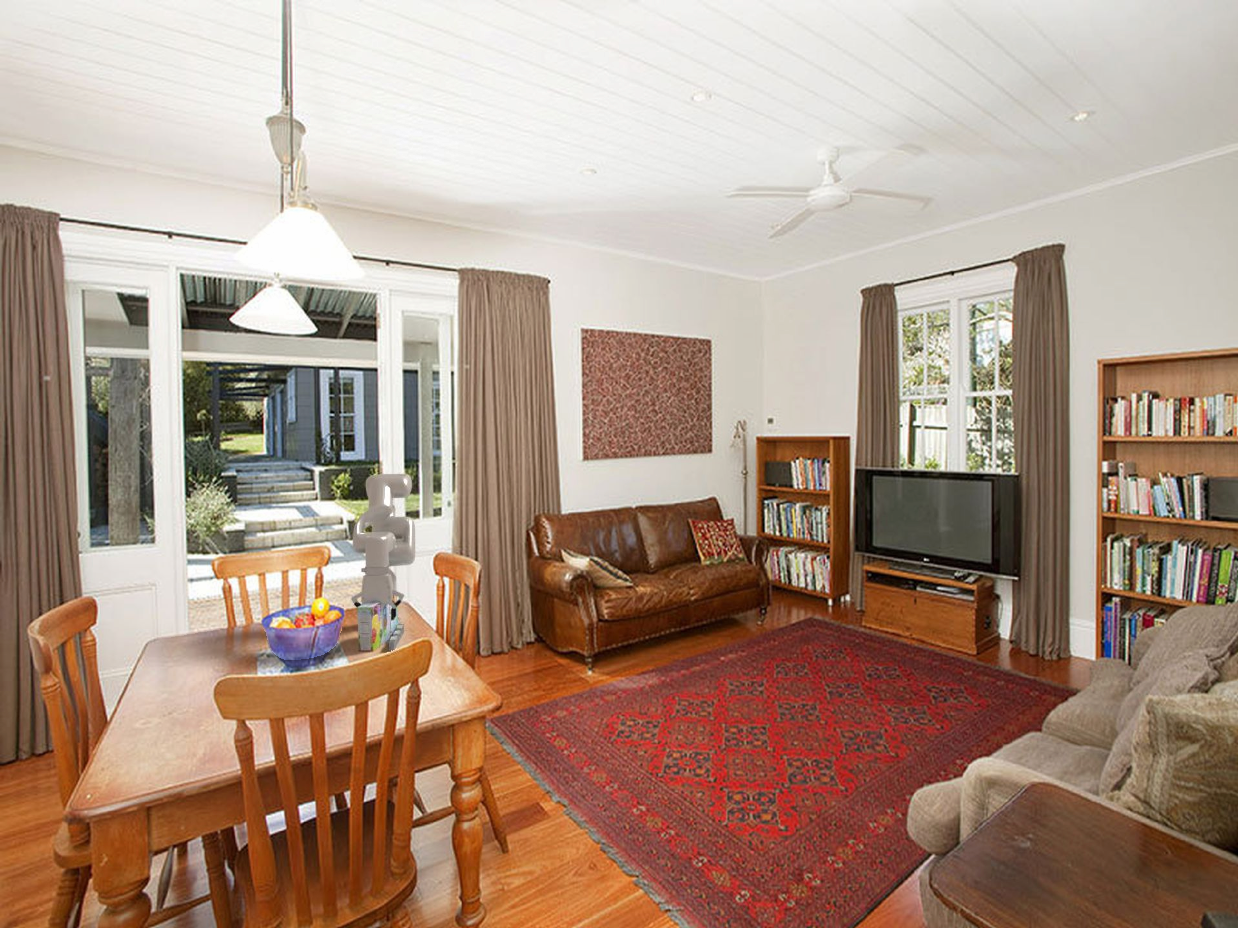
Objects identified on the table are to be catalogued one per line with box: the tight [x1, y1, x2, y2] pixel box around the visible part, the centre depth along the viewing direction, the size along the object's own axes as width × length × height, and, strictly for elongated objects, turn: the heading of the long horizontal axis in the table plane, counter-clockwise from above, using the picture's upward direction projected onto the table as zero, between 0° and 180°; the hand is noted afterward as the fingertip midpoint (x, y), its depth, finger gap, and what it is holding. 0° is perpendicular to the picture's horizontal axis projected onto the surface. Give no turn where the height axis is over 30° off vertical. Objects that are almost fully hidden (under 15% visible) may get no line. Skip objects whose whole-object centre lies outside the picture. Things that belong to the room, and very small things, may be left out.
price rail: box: [388, 623, 405, 652], centre depth 221 cm, size 22×2×3 cm, turn 10°
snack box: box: [356, 595, 399, 652], centre depth 220 cm, size 21×6×15 cm, turn 177°
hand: (378, 619), depth 220 cm, fingers open, 9 cm apart
